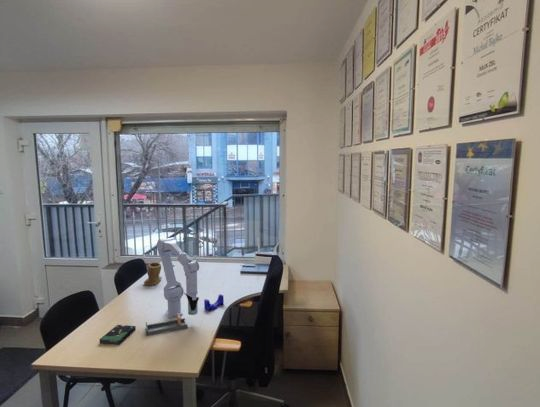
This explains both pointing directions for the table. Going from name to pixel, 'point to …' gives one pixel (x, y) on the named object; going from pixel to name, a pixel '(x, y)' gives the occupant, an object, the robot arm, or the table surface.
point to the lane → (165, 327)
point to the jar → (193, 310)
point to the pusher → (178, 319)
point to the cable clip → (214, 306)
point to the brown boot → (153, 273)
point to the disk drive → (117, 335)
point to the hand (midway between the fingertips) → (192, 308)
